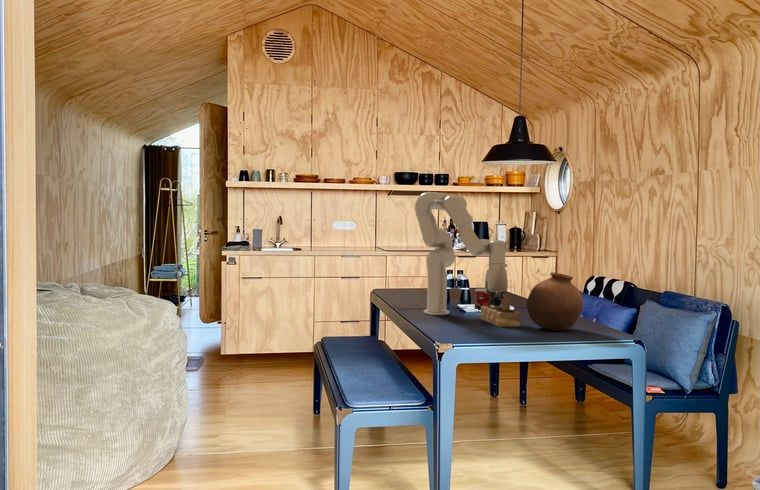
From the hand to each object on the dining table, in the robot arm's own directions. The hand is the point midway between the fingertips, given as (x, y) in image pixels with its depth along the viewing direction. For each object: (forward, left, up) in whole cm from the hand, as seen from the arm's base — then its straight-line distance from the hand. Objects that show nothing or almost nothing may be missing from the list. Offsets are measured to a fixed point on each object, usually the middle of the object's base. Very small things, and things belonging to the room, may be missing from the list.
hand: (495, 305), depth 286 cm
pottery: (+24, +16, -7) cm, 30 cm away
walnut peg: (+9, 0, -2) cm, 10 cm away
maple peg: (0, 0, -7) cm, 7 cm away
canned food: (-25, +6, -7) cm, 27 cm away
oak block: (+4, 0, -7) cm, 8 cm away
